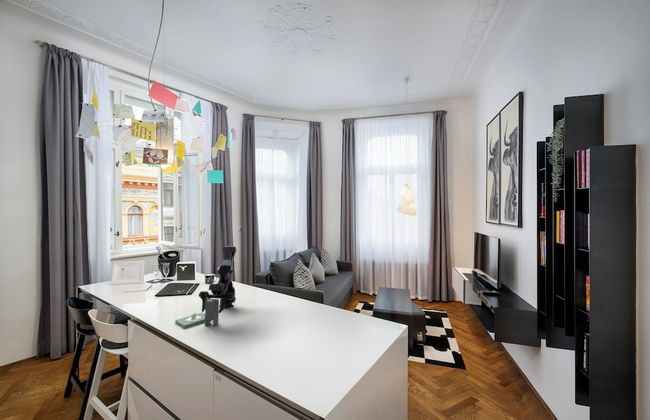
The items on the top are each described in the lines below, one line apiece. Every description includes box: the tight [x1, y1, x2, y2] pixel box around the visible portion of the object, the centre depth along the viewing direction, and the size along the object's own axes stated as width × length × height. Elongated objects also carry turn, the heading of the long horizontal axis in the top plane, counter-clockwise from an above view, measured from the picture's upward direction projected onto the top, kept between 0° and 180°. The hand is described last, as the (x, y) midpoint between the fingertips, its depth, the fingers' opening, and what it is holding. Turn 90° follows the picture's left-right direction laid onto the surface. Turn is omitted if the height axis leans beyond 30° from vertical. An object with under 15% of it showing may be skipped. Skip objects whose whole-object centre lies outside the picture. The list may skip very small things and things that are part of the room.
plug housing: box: [204, 298, 220, 328], centre depth 135 cm, size 4×5×12 cm
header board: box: [174, 312, 205, 329], centre depth 139 cm, size 14×10×4 cm
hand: (210, 312), depth 134 cm, fingers open, 9 cm apart
